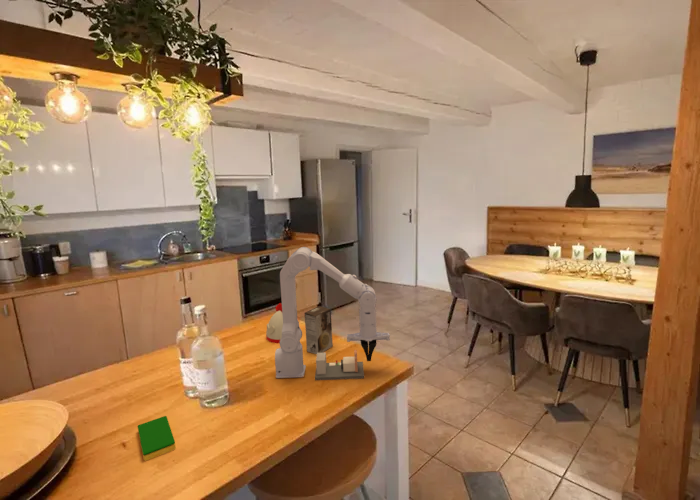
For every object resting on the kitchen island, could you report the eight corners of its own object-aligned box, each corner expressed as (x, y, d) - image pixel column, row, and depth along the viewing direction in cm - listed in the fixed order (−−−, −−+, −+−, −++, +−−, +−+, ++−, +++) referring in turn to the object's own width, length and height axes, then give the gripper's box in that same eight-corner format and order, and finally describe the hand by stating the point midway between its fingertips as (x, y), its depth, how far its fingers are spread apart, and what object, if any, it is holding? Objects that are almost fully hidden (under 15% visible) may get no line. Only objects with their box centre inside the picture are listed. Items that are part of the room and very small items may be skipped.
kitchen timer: (277, 346, 152) (274, 311, 149) (260, 336, 162) (258, 304, 159) (305, 336, 161) (303, 303, 158) (287, 327, 171) (285, 296, 169)
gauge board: (314, 380, 124) (314, 363, 123) (317, 365, 134) (316, 350, 133) (364, 378, 124) (363, 361, 123) (362, 364, 134) (362, 348, 133)
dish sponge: (167, 422, 105) (166, 415, 105) (176, 450, 94) (175, 441, 93) (138, 433, 101) (137, 424, 101) (144, 463, 90) (143, 454, 89)
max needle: (335, 364, 132) (335, 362, 132) (336, 361, 133) (335, 360, 133) (337, 364, 132) (337, 362, 132) (337, 361, 133) (337, 360, 133)
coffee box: (321, 343, 153) (319, 305, 151) (333, 346, 150) (331, 308, 147) (306, 351, 146) (303, 312, 143) (318, 355, 142) (316, 315, 140)
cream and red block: (341, 372, 126) (340, 358, 125) (341, 362, 133) (340, 348, 132) (357, 372, 126) (357, 357, 125) (356, 361, 133) (356, 348, 133)
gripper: (346, 327, 122) (347, 366, 125) (390, 326, 122) (391, 364, 125) (346, 319, 129) (347, 356, 131) (388, 318, 129) (388, 355, 132)
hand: (368, 359), depth 129 cm, fingers closed
